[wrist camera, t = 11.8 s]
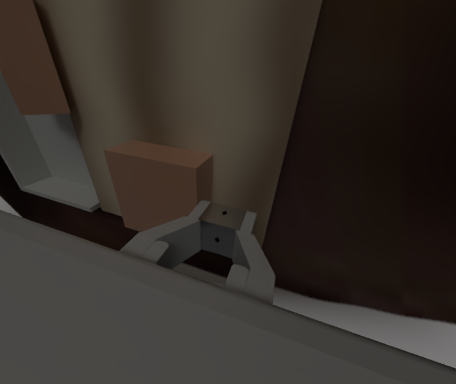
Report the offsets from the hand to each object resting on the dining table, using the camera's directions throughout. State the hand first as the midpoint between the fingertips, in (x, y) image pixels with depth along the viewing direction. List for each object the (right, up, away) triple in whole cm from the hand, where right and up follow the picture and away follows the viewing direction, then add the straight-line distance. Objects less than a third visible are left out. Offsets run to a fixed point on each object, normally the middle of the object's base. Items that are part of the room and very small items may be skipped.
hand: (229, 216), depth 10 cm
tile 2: (-3, +2, +2) cm, 4 cm away
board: (-3, +5, +2) cm, 7 cm away
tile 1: (-11, +9, +1) cm, 14 cm away
